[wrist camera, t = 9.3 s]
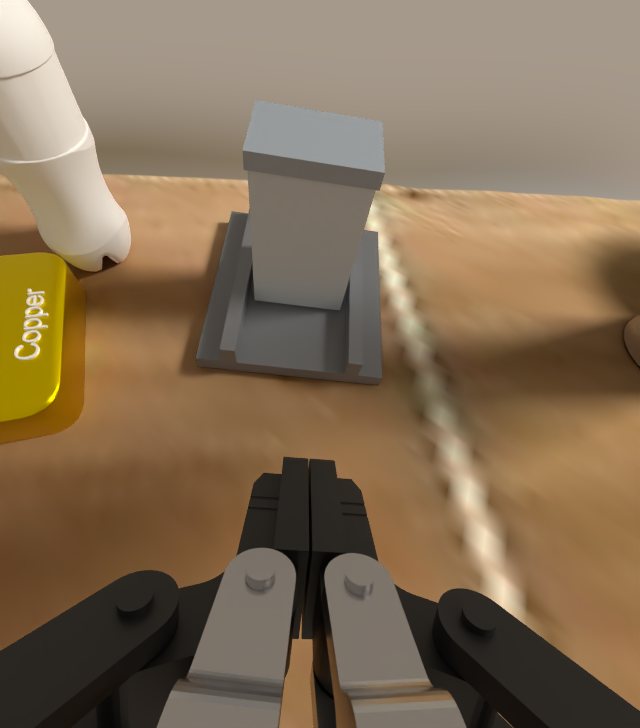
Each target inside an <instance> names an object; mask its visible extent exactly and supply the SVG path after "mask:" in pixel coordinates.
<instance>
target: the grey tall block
mask: <svg viewBox="0 0 640 728" xmlns="http://www.w3.org/2000/svg"><path fill="white" fill-rule="evenodd" d="M243 165H244V170H248V185H249V204H250V223H251V243H252V262H253V281H254V300H257V301H265V302H273V303H282V304H290V305H298V306H306V307H314V308H323V309H331V310H339V311H340V308H341V305H342V301H343V298H344V295H345V291H346V288H347V285H348V281H349V278H350V274H351V271H352V268H353V264H354V261H355V258H356V254H357V251H358V248H359V244H360V241H361V238H362V234H363V231H364V228H365V224H366V221H367V217H368V214H369V211H370V207H371V204H372V201H373V197H374V194H375V191H376V190H380V187H381V184H382V181H383V177H384V174H385V164H384V144H383V124H382V121H376V120H370V119H364V118H358V117H352V116H347V115H341V114H334V113H329V112H323V111H317V110H311V109H306V108H300V107H294V106H288V105H282V104H276V103H270V102H264V101H258V100H255V104H254V108H253V112H252V115H251V120H250V124H249V127H248V131H247V135H246V139H245V143H244V147H243Z"/></svg>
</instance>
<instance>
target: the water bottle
mask: <svg viewBox="0 0 640 728" xmlns="http://www.w3.org/2000/svg"><path fill="white" fill-rule="evenodd" d="M0 172H1V173H2V174H3V175H4V176H5V177H6V178H7V179H8V180H9V181H10V182H11V183H12V184H13V185H14V186H15V187H16V188H17V189H18V191H19V192H20V193H21V195H22V196H23V198H24V199H25V201H26V202H27V204H28V206H29V208H30V210H31V212H32V214H33V216H34V218H35V221H36V223H37V226H38V230H39V233H40V235H41V237H42V239H43V240H44V242H45V243H46V244H47V246H48V247H49V248H50V249H51V250H52V251H53V252H55V253H56V254H57V255H59V256H61V257H62V258H63V259H64V260H65V261H67V262H68V263H70V264H72V265H73V266H75V267H77V268H79V269H82V270H85V271H95V272H96V271H99V270H102V258H103V257H104V256H108V257H109V258H110V259H112V260H113V261H115V262H117V263H119V262H122V261H123V260H124V259H125V258H126V257H127V255H128V253H129V251H130V246H131V236H130V228H129V222H128V219H127V216H126V214H125V212H124V211H123V210H122V208H121V207H120V206H119V205H118V204H117V202H116V201H115V200H114V198H113V196H112V195H111V193H110V191H109V189H108V187H107V185H106V183H105V181H104V179H103V176H102V173H101V171H100V167H99V164H98V160H97V155H96V149H95V143H94V138H93V136H92V133H91V131H90V129H89V126H88V124H87V122H86V120H85V119H84V118H83V117H82V114H81V112H80V109H79V107H78V105H77V103H76V100H75V98H74V95H73V93H72V91H71V88H70V86H69V83H68V81H67V79H66V77H65V74H64V72H63V69H62V67H61V65H60V62H59V60H58V58H57V55H56V53H55V51H54V44H53V41H52V38H51V36H50V34H49V33H48V31H47V29H46V27H45V25H44V24H43V22H42V21H41V19H40V17H39V16H38V14H37V12H36V11H35V10H34V8H33V7H32V6H31V5H30V3H29V2H28V0H0Z"/></svg>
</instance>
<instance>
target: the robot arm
mask: <svg viewBox="0 0 640 728" xmlns="http://www.w3.org/2000/svg"><path fill="white" fill-rule="evenodd" d="M624 340H625V344H626V347H627V349H628V351H629V353H630V355H631V356H632V357H633V359H634V360H635V362H636V363H637V364H638V365H639V366H640V314H639V315H638V316H636V317H635V318H633V319H632V320H630V321H629V322H628V323H627V325H626V326H625V329H624ZM301 614H302V639H313V661H312V669H311V676H310V685H311V698H312V712H313V725H314V728H512V727H511V726H510V725H509V724H508V723H507V722H506V721H505V720H504V719H503V718H502V717H501V716H500V715H499V714H498V713H500V714H501V715H502V716H503V717H504V718H505V719H506V720H507V721H508V722H509V723H510V724H511V725H512V726H513V727H514V728H640V711H639V710H637V709H636V708H635V707H633V706H632V705H631V704H629V703H628V702H627V701H625V700H624V699H623V698H621V697H620V696H619V695H617V694H616V693H615V692H613V691H612V690H611V689H609V688H608V687H607V686H605V685H604V684H603V683H602V682H600V681H599V680H598V679H596V678H595V677H594V676H592V675H591V674H590V673H588V672H587V671H586V670H584V669H583V668H582V667H580V666H579V665H578V664H576V663H575V662H574V661H572V660H571V659H570V658H568V657H567V656H566V655H564V654H563V653H562V652H560V651H559V650H558V649H556V648H555V647H554V646H552V645H551V644H550V643H548V642H547V641H546V640H544V639H543V638H542V637H540V636H539V635H538V634H536V633H535V632H534V631H532V630H531V629H530V628H528V627H527V626H526V625H524V624H523V623H522V622H520V621H519V620H518V619H516V618H515V617H514V616H512V615H511V614H510V613H508V612H507V611H506V610H504V609H503V608H502V607H501V606H499V605H498V604H497V603H495V602H494V601H492V600H491V599H489V598H488V597H486V596H484V595H482V594H480V593H478V592H475V591H472V590H469V589H451V590H449V591H447V592H445V593H444V594H443V595H442V596H441V598H440V600H439V602H438V603H436V602H433V601H430V600H428V599H425V598H422V597H419V596H416V595H413V594H411V593H408V592H406V591H405V590H403V589H401V588H399V587H398V586H397V585H395V584H394V582H393V580H392V577H391V575H390V574H389V572H388V571H387V569H386V568H385V567H384V566H383V565H382V564H380V563H379V562H378V558H377V554H376V550H375V546H374V542H373V538H372V533H371V529H370V525H369V521H368V517H367V513H366V509H365V506H364V500H363V496H362V492H361V490H360V489H359V488H358V486H357V485H356V484H355V483H354V482H353V481H352V479H341V478H337V474H336V467H335V461H333V460H320V459H310V461H309V468H308V459H305V458H292V457H284V459H283V468H282V474H271V473H263V474H262V475H261V476H260V477H259V478H258V479H257V480H256V481H255V482H254V484H253V489H252V493H251V498H250V501H249V506H248V510H247V514H246V518H245V522H244V527H243V531H242V535H241V539H240V543H239V548H238V552H237V555H236V557H234V558H233V559H232V560H231V561H230V563H229V564H228V566H227V568H226V570H225V572H223V573H222V574H221V575H219V576H217V577H216V578H214V579H212V580H209V581H207V582H204V583H200V584H196V585H192V586H188V587H183V588H179V589H178V586H177V584H176V582H175V581H174V579H173V578H172V577H170V576H169V575H168V574H165V573H163V572H160V571H154V570H144V571H138V572H134V573H131V574H128V575H126V576H123V577H121V578H119V579H118V580H116V581H114V582H112V583H111V584H109V585H107V586H106V587H104V588H103V589H101V590H99V591H98V592H96V593H94V594H93V595H91V596H90V597H88V598H86V599H85V600H83V601H81V602H80V603H78V604H77V605H75V606H73V607H72V608H70V609H68V610H67V611H65V612H63V613H62V614H60V615H59V616H57V617H55V618H54V619H52V620H50V621H49V622H47V623H46V624H44V625H42V626H41V627H39V628H37V629H36V630H34V631H32V632H31V633H29V634H28V635H26V636H24V637H23V638H21V639H19V640H18V641H16V642H15V643H13V644H11V645H10V646H8V647H6V648H5V649H3V650H1V651H0V728H279V723H280V714H281V706H282V697H283V689H284V680H285V677H286V675H287V672H288V669H289V664H290V656H291V647H292V639H299V631H300V623H301Z"/></svg>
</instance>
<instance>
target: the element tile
mask: <svg viewBox="0 0 640 728" xmlns="http://www.w3.org/2000/svg"><path fill="white" fill-rule="evenodd" d="M85 332H86V293H85V290H84V289H83V287H82V286H81V284H80V283H79V281H78V280H77V278H76V277H75V276H74V274H73V273H72V271H71V270H70V268H69V267H68V266H67V264H66V263H65V261H64V260H63V259H62V258H61V257H59V256H58V255H56V254H52V253H47V252H36V253H25V254H13V255H2V256H0V444H3V443H9V442H14V441H19V440H24V439H30V438H35V437H40V436H45V435H51V434H54V433H57V432H60V431H62V430H64V429H66V428H68V427H70V426H71V425H72V424H73V423H74V422H75V421H76V420H77V419H78V418H79V416H80V414H81V412H82V409H83V404H84V378H85Z"/></svg>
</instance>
